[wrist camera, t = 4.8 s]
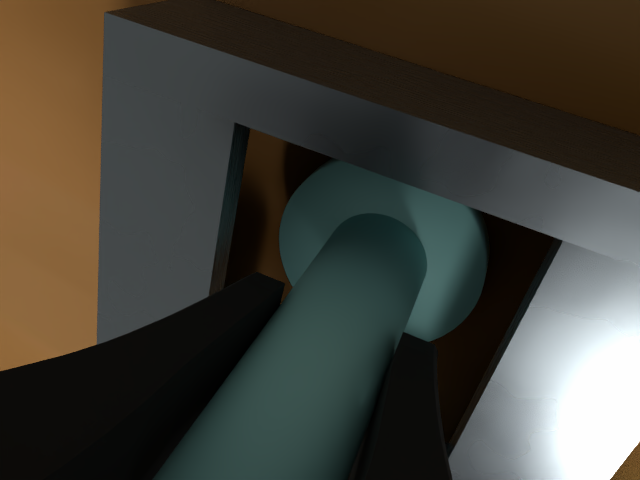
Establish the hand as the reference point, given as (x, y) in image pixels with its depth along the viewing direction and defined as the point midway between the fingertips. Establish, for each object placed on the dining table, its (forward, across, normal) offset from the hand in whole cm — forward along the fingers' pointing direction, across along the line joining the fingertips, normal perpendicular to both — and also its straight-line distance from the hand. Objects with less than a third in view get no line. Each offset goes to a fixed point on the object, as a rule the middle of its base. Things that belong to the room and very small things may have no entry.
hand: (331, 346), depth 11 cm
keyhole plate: (+4, 0, +4) cm, 6 cm away
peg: (+4, 0, 0) cm, 4 cm away
